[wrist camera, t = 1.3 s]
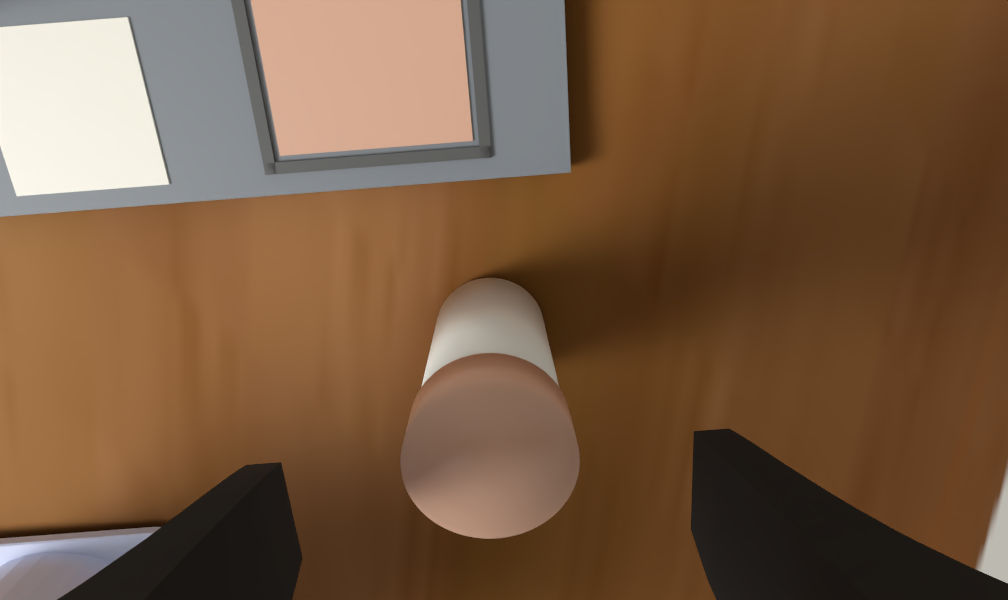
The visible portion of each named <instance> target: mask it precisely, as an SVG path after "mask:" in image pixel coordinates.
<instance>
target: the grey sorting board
mask: <svg viewBox="0 0 1008 600" xmlns="http://www.w3.org/2000/svg"><path fill="white" fill-rule="evenodd" d="M569 172H571V161H570V135H569V109H568V83H567V57H566V30H565V4H564V0H0V217H3V216H16V215H29V214H42V213H54V212H67V211H80V210H93V209H106V208H119V207H132V206H144V205H157V204H170V203H183V202H196V201H209V200H222V199H234V198H247V197H260V196H273V195H286V194H299V193H312V192H324V191H337V190H350V189H363V188H376V187H389V186H402V185H414V184H427V183H440V182H453V181H466V180H479V179H492V178H504V177H517V176H530V175H543V174H556V173H569Z"/></svg>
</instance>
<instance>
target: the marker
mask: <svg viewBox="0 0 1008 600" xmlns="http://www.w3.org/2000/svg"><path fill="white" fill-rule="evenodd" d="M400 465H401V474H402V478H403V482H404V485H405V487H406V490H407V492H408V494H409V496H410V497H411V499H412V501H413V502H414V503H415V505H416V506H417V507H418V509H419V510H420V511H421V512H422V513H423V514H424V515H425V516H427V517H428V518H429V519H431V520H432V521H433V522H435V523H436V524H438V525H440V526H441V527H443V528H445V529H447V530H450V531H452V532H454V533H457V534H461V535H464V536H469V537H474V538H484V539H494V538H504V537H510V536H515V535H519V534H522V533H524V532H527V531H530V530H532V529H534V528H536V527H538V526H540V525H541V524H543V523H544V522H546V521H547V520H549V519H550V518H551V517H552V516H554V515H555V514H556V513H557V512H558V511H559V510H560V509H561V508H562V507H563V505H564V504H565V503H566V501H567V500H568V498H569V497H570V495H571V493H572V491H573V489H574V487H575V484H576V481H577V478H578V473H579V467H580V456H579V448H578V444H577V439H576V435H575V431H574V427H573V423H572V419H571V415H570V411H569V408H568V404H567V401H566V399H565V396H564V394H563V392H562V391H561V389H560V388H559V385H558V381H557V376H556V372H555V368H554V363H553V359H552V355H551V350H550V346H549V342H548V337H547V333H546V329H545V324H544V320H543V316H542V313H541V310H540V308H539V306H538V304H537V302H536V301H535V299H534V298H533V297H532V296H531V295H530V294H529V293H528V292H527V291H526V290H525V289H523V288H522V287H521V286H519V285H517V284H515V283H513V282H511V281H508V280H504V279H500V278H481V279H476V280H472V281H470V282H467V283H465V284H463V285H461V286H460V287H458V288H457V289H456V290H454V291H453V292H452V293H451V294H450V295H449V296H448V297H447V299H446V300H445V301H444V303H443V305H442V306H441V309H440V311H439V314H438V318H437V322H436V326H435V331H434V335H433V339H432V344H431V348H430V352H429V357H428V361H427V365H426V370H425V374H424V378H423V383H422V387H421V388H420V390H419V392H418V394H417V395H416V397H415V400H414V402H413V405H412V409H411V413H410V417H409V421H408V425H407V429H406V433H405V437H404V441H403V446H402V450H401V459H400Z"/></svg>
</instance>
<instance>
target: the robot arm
mask: <svg viewBox="0 0 1008 600" xmlns="http://www.w3.org/2000/svg"><path fill="white" fill-rule="evenodd" d="M691 530H692V534H693V537H694V540H695V543H696V546H697V549H698V552H699V555H700V558H701V561H702V564H703V567H704V570H705V573H706V576H707V579H708V581H709V584H710V586H711V588H712V591H713V593H714V595H715V597H716V599H717V600H1008V583H1005V582H1003V581H1000V580H998V579H996V578H993V577H991V576H989V575H987V574H984V573H982V572H980V571H978V570H975V569H973V568H971V567H969V566H967V565H964V564H962V563H960V562H958V561H956V560H954V559H952V558H950V557H948V556H946V555H944V554H942V553H940V552H938V551H935V550H933V549H931V548H929V547H927V546H925V545H923V544H921V543H919V542H917V541H915V540H913V539H911V538H909V537H907V536H905V535H903V534H901V533H900V532H898V531H896V530H894V529H892V528H890V527H888V526H887V525H885V524H883V523H881V522H880V521H878V520H876V519H874V518H872V517H871V516H869V515H867V514H865V513H864V512H862V511H860V510H858V509H856V508H855V507H853V506H851V505H850V504H848V503H846V502H844V501H843V500H841V499H839V498H838V497H836V496H834V495H833V494H831V493H830V492H828V491H826V490H825V489H823V488H821V487H820V486H818V485H817V484H815V483H813V482H812V481H810V480H809V479H807V478H806V477H804V476H802V475H801V474H799V473H798V472H796V471H795V470H793V469H792V468H790V467H788V466H787V465H785V464H784V463H782V462H781V461H779V460H778V459H776V458H775V457H773V456H772V455H770V454H769V453H767V452H766V451H764V450H763V449H761V448H759V447H758V446H756V445H755V444H753V443H752V442H750V441H749V440H747V439H746V438H744V437H742V436H741V435H739V434H737V433H736V432H734V431H732V430H730V429H719V430H706V431H694V445H693V478H692V512H691ZM301 561H302V554H301V550H300V545H299V541H298V536H297V532H296V527H295V523H294V518H293V514H292V509H291V505H290V501H289V496H288V492H287V487H286V483H285V478H284V474H283V469H282V465H281V463H267V464H254V465H246V466H244V467H243V468H241V469H239V470H238V471H236V472H235V473H233V474H232V475H230V476H229V477H228V478H226V479H225V480H223V481H222V482H221V483H219V484H218V485H217V486H215V487H214V488H213V489H211V490H210V491H209V492H207V493H206V494H205V495H203V496H202V497H201V498H199V499H198V500H197V501H195V502H194V503H193V504H191V505H190V506H189V507H187V508H186V509H185V510H183V511H182V512H181V513H179V514H178V515H177V516H175V517H174V518H173V519H171V520H170V521H169V522H167V523H166V524H165V525H163V526H162V527H145V528H131V529H118V530H105V531H92V532H79V533H66V534H52V535H39V536H26V537H13V538H0V600H292V597H293V593H294V590H295V586H296V582H297V578H298V573H299V569H300V565H301Z"/></svg>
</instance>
